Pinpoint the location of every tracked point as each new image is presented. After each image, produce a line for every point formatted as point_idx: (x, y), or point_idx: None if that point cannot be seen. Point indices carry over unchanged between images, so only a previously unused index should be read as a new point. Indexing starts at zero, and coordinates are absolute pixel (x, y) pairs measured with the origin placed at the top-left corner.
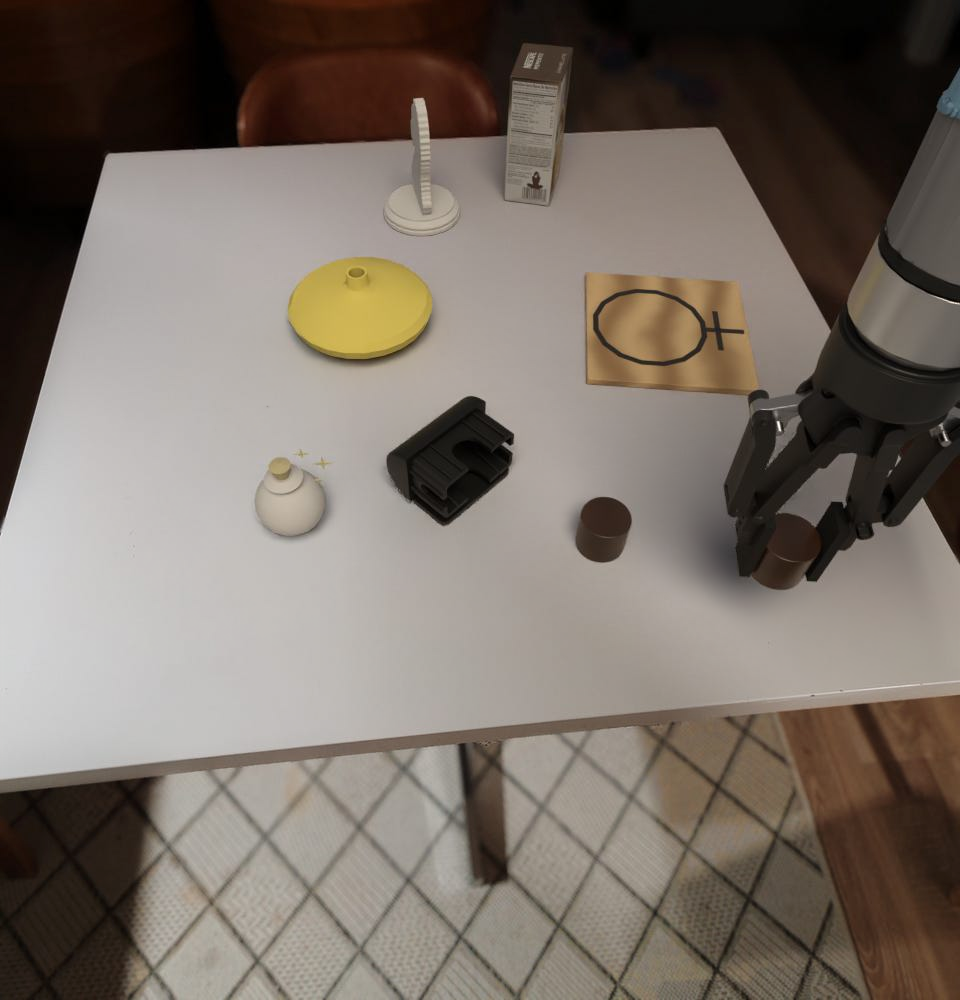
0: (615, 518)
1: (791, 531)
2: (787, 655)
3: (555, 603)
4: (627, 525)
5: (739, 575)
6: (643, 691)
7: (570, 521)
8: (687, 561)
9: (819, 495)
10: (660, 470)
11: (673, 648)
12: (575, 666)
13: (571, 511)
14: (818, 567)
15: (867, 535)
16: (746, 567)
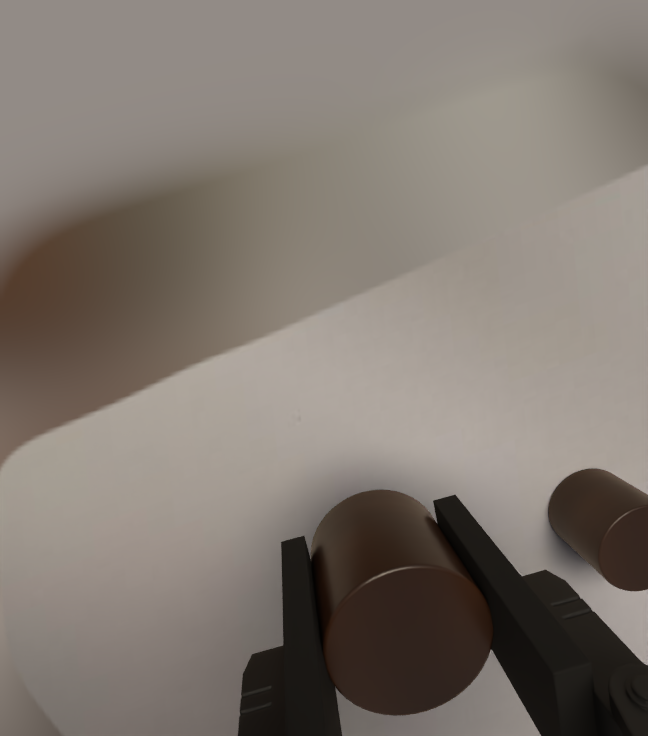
0: (628, 551)
1: (409, 661)
2: (266, 406)
3: (644, 373)
4: (606, 545)
5: (455, 497)
6: (491, 262)
7: None
8: None
9: None
10: (502, 668)
11: (451, 356)
12: (602, 271)
13: None
14: (301, 577)
15: None
16: (466, 517)
